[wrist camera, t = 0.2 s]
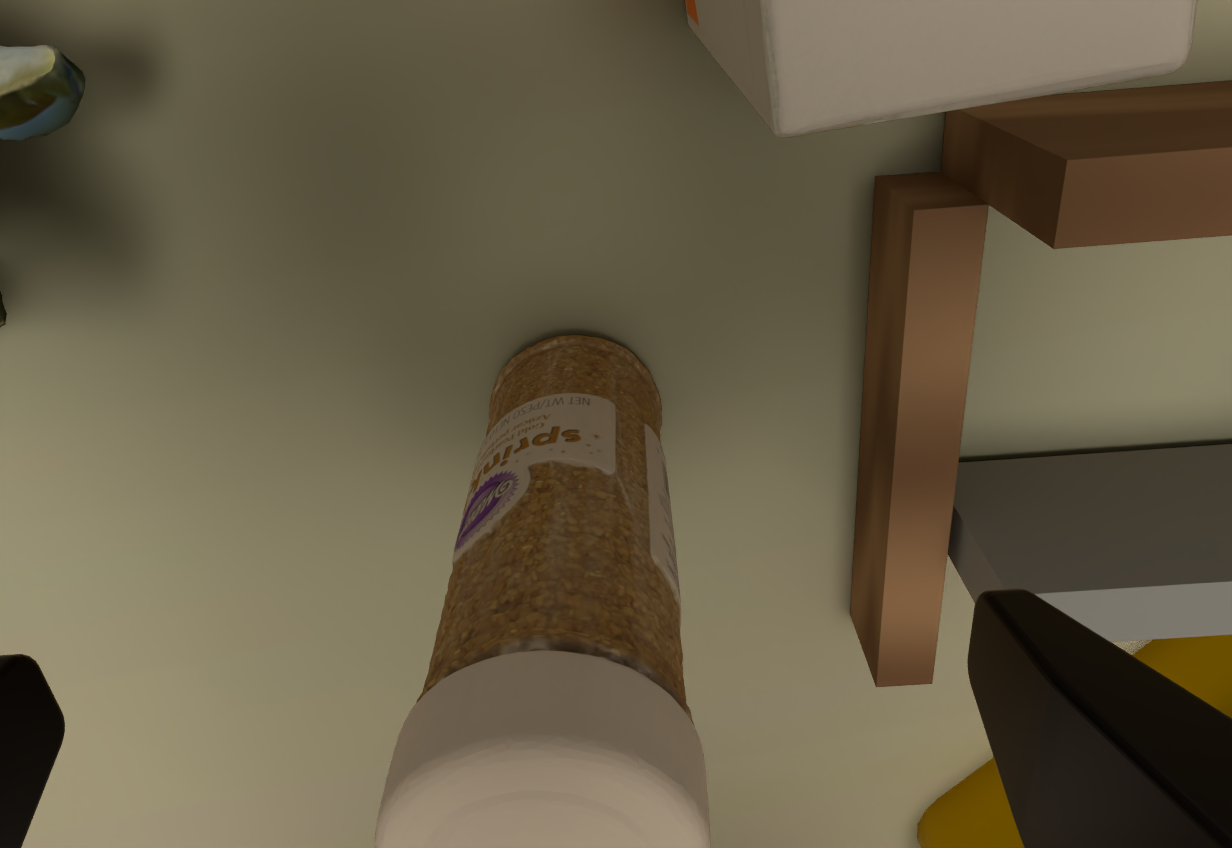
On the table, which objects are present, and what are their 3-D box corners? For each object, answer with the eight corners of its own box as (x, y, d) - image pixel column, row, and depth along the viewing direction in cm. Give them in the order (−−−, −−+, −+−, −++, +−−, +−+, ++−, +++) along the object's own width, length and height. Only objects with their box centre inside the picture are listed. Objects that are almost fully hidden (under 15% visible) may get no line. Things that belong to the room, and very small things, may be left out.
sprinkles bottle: (534, 299, 22) (446, 706, 10) (694, 375, 23) (782, 827, 11) (462, 443, 24) (319, 926, 12) (613, 508, 25) (616, 1012, 13)
